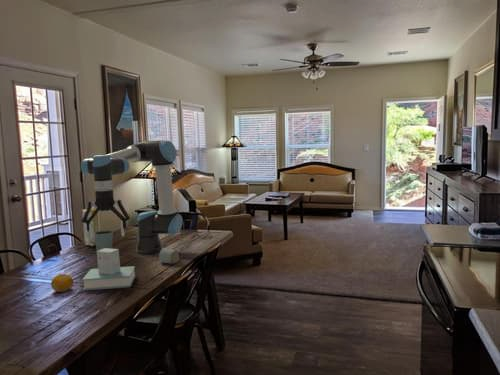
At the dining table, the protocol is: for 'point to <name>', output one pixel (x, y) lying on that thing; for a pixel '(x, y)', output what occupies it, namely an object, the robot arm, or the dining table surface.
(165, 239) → the dining table surface
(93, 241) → the juice carton
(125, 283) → the book
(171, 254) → the ceramic mug
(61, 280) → the fruit
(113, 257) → the small box
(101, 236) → the teal cup
